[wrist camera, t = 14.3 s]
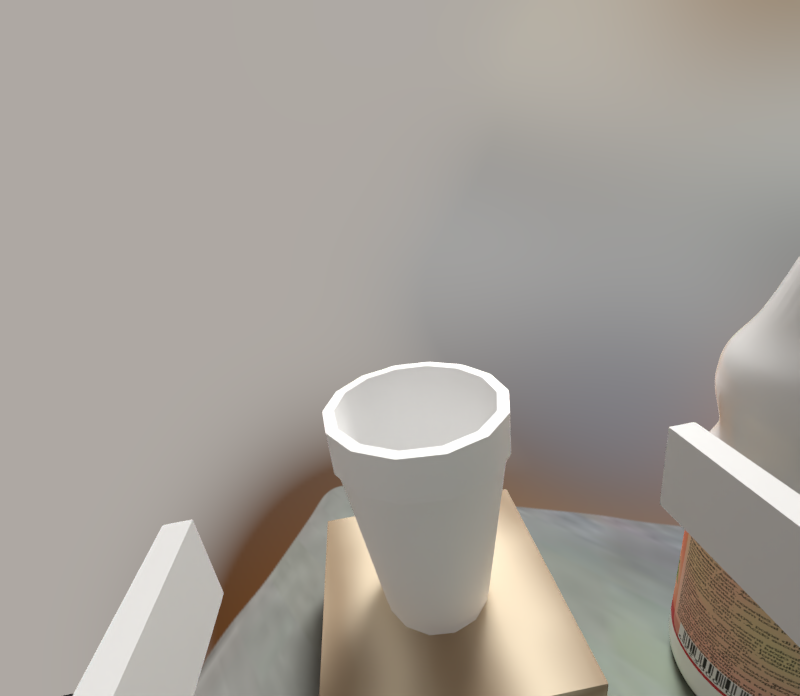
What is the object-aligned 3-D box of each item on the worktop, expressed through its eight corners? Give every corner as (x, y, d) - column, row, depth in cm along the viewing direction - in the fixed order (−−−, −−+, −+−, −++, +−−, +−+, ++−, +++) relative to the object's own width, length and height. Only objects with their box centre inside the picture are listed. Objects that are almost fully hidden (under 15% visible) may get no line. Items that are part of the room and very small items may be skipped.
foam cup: (333, 583, 27) (290, 407, 23) (436, 506, 33) (419, 350, 28) (436, 708, 20) (406, 491, 16) (547, 585, 26) (550, 394, 21)
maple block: (507, 546, 36) (506, 489, 33) (600, 754, 23) (608, 683, 20) (341, 577, 35) (327, 521, 32) (339, 813, 22) (316, 746, 20)
